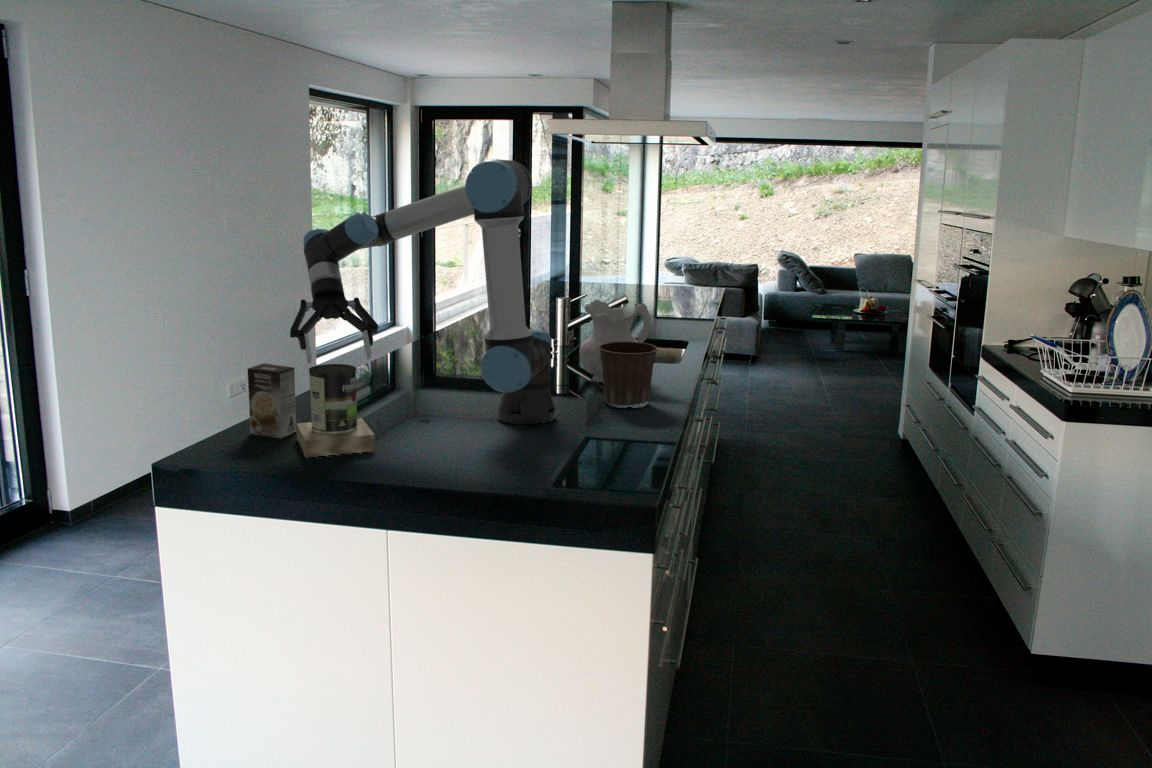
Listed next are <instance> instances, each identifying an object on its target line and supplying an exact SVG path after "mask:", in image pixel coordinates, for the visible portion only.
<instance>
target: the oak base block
mask: <svg viewBox="0 0 1152 768" xmlns="http://www.w3.org/2000/svg"><path fill="white" fill-rule="evenodd" d="M357 427H358V428H357V429H356V430H355V431H353V432H350V433H345V434H336V435H327V434H319V433H315V432H313V431H312V430H311V429H312V421H311V422H310V421H308V422H296V440H297V442H299V443H298V444H300V445H299V446H301V447H300V449H301V448H302V449H301V451H302V450H303V451H302V453H303V456H304V457H306V458H305V459H309V458H308V457H316V458H319V457H318V456H326V457H330V456H329V455H337V456H340V455H339V454H348V453H349V454H348V455H352V454H351V453H359V454H363V453H362V452H369V453H375V452H376V449H375V447H376V446H375V444H376V443H375V442H376V440H375V433H374V432H373V431H372V430H371V428H370V427H369V426H368V424H367V423H366V422H365V420H364V419H363V418H362V417H361V418H357Z"/></svg>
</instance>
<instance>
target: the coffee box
mask: <svg viewBox="0 0 1152 768" xmlns="http://www.w3.org/2000/svg"><path fill="white" fill-rule="evenodd" d="M295 379H296V377H295V367H294V366H293V367H292V366H285V365H279V364H271V363H261V364H258V365H254V366H252V367H248V368H247V387H248V402H249V403H248V409H249V426H250V427H249V429H250V431H249V433H250V435H254V436H263V437H268V438H277V439H284V438H286V437H288V436H290V434H291V435H293V434H295V433H294V432H296V433H297V410H296V408H297V407H296V383H295V382H296V381H295ZM292 433H293V434H292ZM285 436H286V437H285ZM283 437H284V438H283Z"/></svg>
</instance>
